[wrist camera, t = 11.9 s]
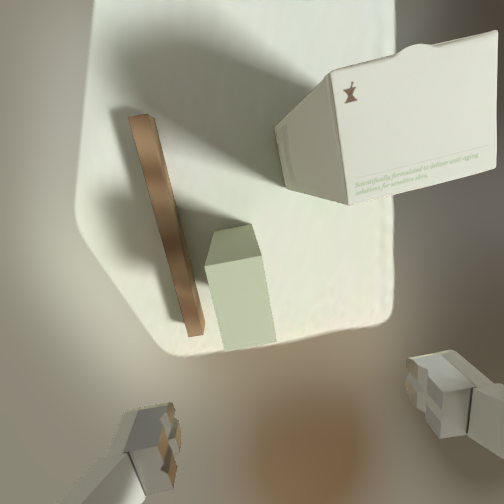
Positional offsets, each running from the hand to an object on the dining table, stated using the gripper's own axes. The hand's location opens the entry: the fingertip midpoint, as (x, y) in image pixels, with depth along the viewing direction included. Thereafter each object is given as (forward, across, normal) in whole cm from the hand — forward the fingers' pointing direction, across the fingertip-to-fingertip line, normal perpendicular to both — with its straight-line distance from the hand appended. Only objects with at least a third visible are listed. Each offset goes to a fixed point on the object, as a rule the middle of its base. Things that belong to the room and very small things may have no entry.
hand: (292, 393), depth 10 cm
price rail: (+22, +8, -2) cm, 23 cm away
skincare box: (+22, -8, -8) cm, 25 cm away
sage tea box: (+22, +2, +2) cm, 22 cm away
